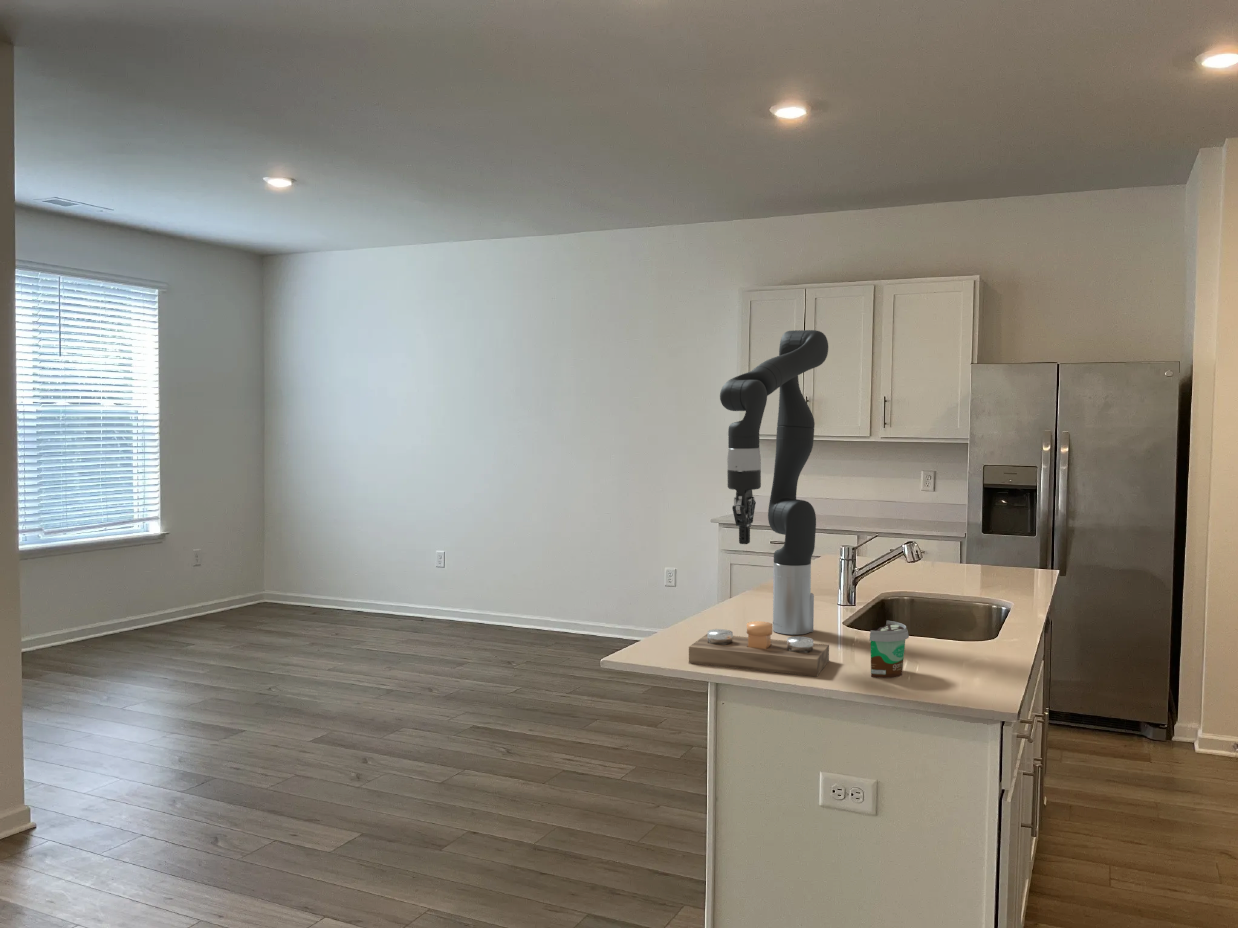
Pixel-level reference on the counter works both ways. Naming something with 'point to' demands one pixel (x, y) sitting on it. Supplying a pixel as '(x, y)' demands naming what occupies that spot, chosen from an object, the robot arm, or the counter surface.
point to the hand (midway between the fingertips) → (744, 543)
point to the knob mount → (760, 656)
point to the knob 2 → (800, 644)
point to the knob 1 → (720, 636)
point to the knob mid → (759, 634)
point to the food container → (888, 650)
